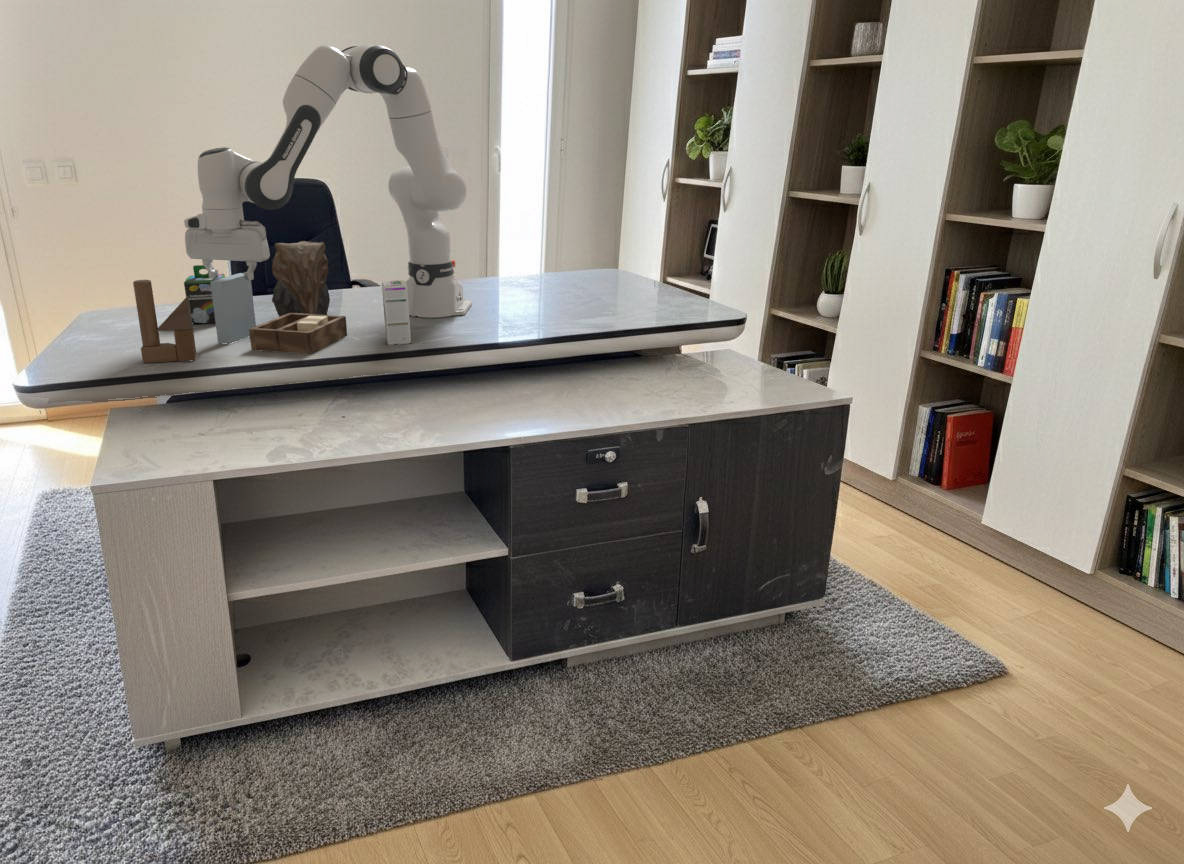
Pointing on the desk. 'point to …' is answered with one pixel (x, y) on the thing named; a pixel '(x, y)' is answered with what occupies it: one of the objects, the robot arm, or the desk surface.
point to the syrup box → (396, 312)
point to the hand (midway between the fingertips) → (231, 278)
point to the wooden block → (163, 328)
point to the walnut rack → (296, 334)
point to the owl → (300, 278)
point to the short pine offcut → (311, 322)
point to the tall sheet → (233, 307)
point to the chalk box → (200, 295)
